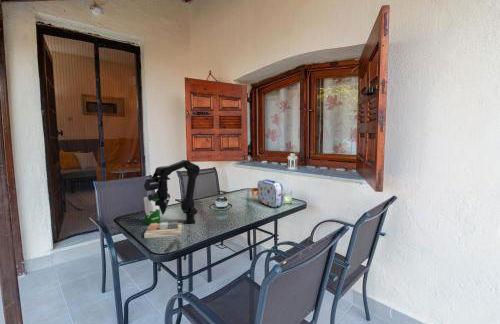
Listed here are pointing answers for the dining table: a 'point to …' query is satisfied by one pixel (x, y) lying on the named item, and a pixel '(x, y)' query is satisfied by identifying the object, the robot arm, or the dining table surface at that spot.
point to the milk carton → (151, 211)
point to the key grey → (164, 226)
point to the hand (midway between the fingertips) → (163, 213)
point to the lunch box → (270, 193)
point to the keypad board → (163, 232)
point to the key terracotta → (153, 226)
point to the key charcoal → (174, 225)
